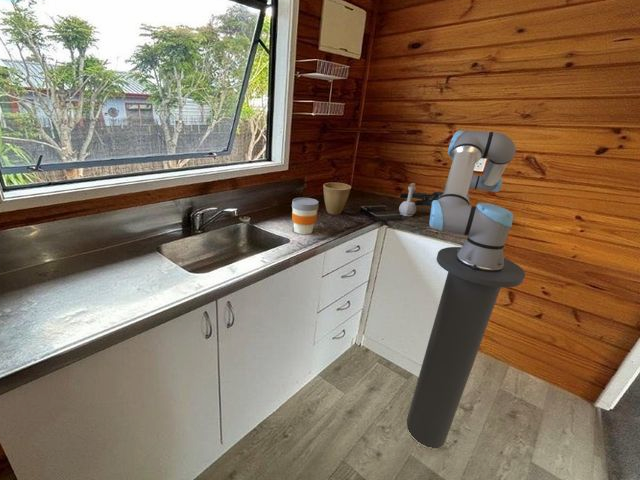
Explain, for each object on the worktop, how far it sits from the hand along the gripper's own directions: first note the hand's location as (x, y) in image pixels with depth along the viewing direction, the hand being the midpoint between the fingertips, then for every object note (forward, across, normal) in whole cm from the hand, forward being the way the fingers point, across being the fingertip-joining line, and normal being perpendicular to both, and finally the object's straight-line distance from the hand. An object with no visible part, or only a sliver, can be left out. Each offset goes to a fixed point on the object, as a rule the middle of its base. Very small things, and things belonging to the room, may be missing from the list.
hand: (407, 199), depth 170 cm
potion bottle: (-1, 0, -9) cm, 9 cm away
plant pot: (+40, +7, -9) cm, 41 cm away
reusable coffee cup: (+66, -16, -9) cm, 68 cm away
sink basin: (+15, 0, -9) cm, 18 cm away
